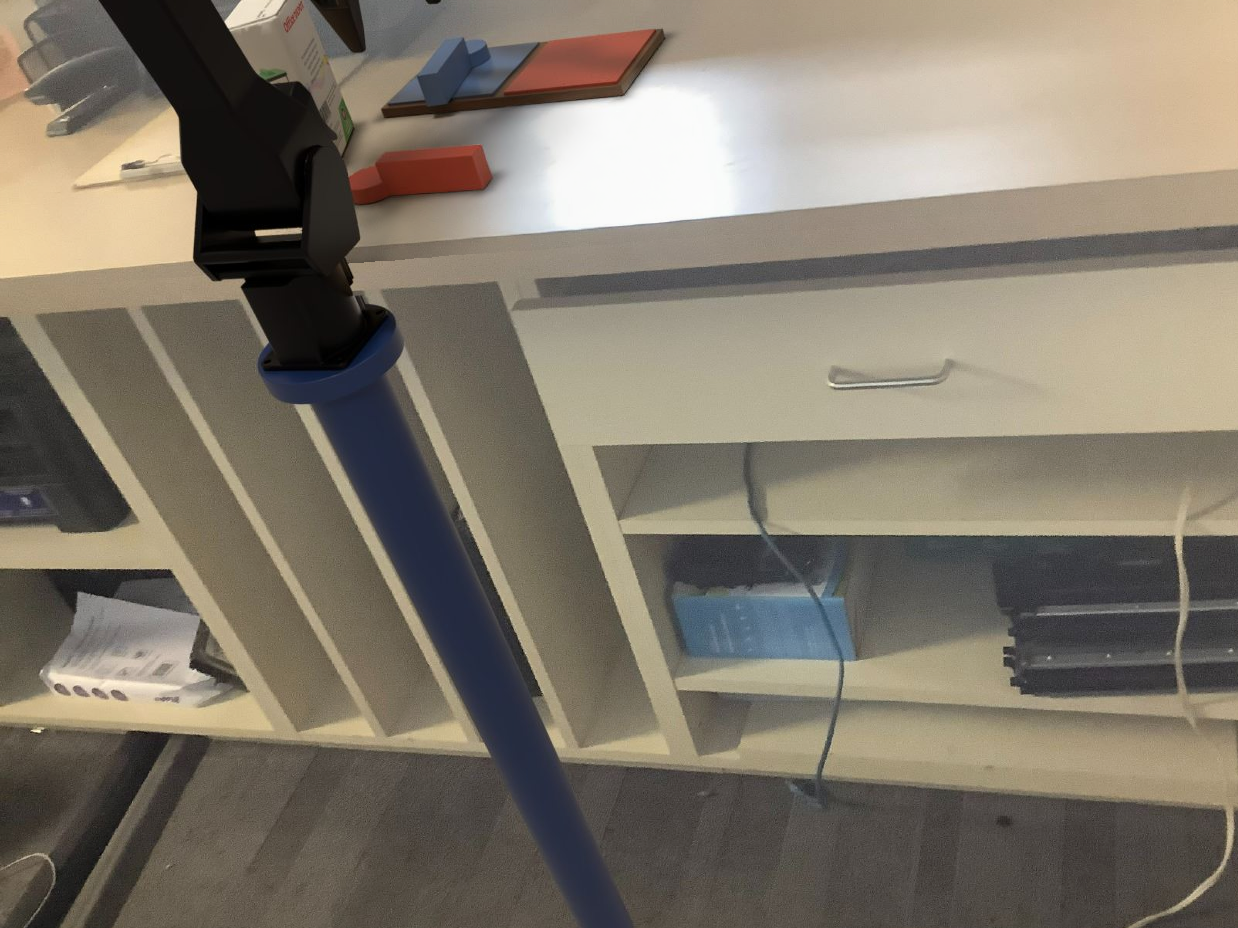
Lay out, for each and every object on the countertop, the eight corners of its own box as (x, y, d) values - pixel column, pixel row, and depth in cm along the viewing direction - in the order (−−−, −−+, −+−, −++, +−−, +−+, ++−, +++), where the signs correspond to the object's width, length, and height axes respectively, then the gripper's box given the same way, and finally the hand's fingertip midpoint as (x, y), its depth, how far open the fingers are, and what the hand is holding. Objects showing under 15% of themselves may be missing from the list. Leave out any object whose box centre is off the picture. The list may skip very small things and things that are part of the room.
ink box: (301, 138, 97) (238, -5, 90) (356, 125, 97) (298, -20, 89) (280, 180, 91) (211, 30, 83) (340, 167, 90) (275, 14, 83)
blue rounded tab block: (460, 102, 93) (449, 70, 92) (415, 108, 94) (403, 77, 93) (495, 49, 102) (486, 20, 100) (453, 56, 103) (444, 27, 101)
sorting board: (623, 95, 90) (620, 82, 89) (383, 117, 97) (379, 106, 96) (665, 37, 98) (662, 25, 98) (441, 61, 105) (437, 51, 105)
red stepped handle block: (498, 170, 84) (487, 136, 82) (477, 196, 81) (465, 162, 79) (364, 180, 87) (351, 148, 86) (340, 205, 85) (325, 173, 83)
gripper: (308, -243, 81) (388, -14, 91) (113, -173, 69) (229, 82, 79) (432, -267, 76) (502, -22, 86) (244, -196, 64) (351, 79, 74)
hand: (398, 26), depth 82 cm, fingers open, 9 cm apart
